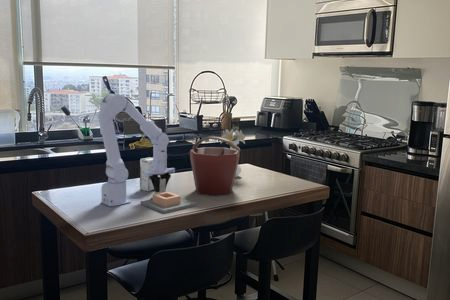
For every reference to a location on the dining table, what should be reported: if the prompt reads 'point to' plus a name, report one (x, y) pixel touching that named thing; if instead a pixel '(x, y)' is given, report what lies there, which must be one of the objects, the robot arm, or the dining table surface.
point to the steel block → (162, 186)
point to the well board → (167, 202)
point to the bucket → (214, 168)
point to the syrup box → (145, 166)
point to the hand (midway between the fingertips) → (160, 191)
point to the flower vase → (235, 138)
